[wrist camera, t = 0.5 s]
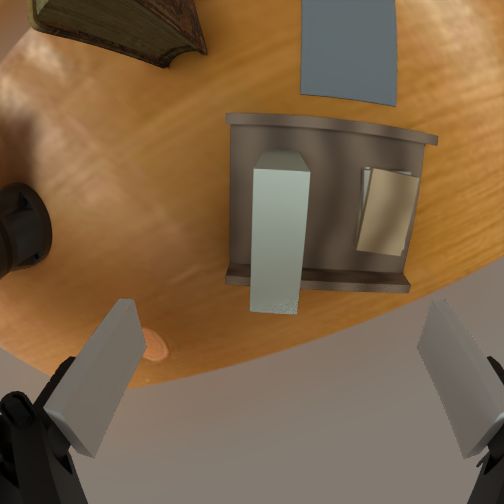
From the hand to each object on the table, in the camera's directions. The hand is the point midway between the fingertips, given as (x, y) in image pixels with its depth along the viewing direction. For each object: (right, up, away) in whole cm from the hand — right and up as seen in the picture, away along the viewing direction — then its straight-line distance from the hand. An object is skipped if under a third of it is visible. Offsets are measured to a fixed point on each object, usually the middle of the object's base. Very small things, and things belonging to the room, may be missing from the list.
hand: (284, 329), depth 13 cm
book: (-11, +34, +17) cm, 40 cm away
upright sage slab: (+2, +10, +25) cm, 27 cm away
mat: (+11, +30, +16) cm, 36 cm away
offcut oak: (+15, +8, +22) cm, 28 cm away
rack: (+8, +10, +26) cm, 29 cm away
